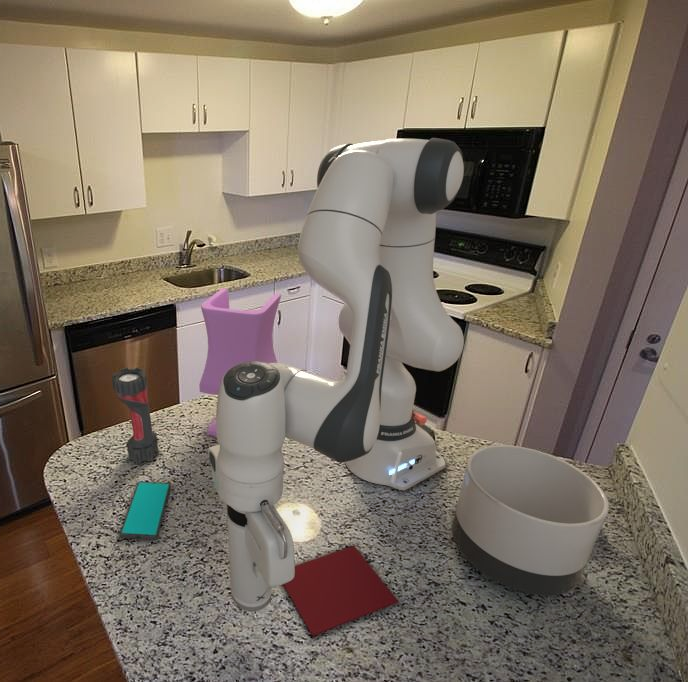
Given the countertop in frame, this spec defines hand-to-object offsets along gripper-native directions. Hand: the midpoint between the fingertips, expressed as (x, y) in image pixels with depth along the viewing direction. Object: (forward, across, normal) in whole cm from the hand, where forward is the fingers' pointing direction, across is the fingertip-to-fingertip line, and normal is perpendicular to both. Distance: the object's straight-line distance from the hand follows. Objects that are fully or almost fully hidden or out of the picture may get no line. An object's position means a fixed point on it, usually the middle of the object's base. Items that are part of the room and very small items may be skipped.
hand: (249, 553), depth 68 cm
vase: (+15, +50, -20) cm, 56 cm away
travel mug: (+9, 0, 0) cm, 9 cm away
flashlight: (+15, +47, +8) cm, 50 cm away
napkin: (+14, 0, -16) cm, 22 cm away
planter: (+15, -6, -48) cm, 51 cm away
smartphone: (+14, +29, +10) cm, 34 cm away
